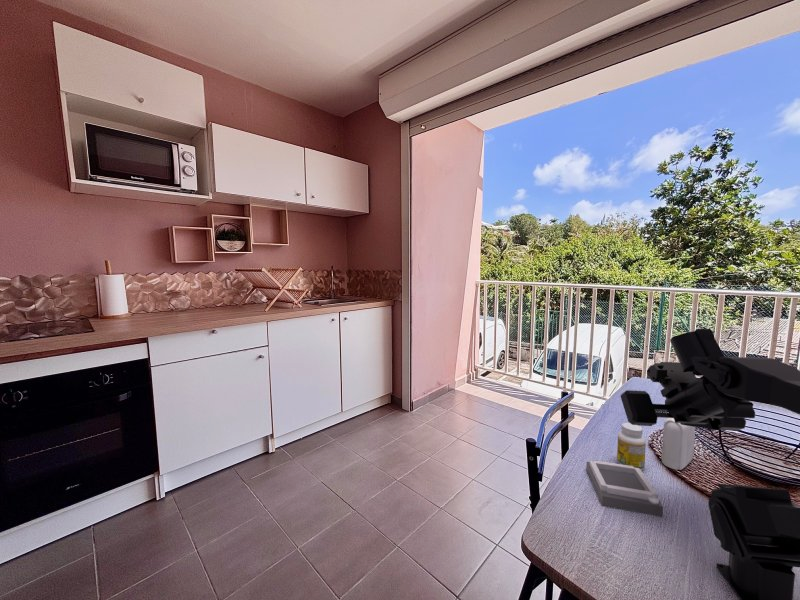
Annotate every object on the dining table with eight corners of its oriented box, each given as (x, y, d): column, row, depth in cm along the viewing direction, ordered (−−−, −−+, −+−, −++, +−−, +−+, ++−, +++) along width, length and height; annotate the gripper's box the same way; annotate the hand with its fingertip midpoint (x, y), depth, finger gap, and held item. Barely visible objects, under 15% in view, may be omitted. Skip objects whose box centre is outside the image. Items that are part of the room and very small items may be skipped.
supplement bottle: (648, 474, 72) (650, 433, 71) (620, 469, 74) (622, 430, 73) (639, 461, 77) (641, 423, 76) (613, 456, 79) (615, 420, 78)
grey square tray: (662, 516, 59) (663, 500, 59) (602, 505, 62) (602, 490, 62) (636, 477, 71) (637, 463, 71) (586, 469, 74) (586, 456, 74)
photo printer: (673, 450, 81) (676, 404, 80) (695, 458, 78) (698, 410, 77) (658, 464, 76) (661, 414, 75) (681, 473, 72) (684, 421, 71)
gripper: (742, 356, 57) (689, 385, 70) (630, 353, 60) (598, 382, 73) (778, 419, 51) (713, 439, 64) (651, 412, 54) (612, 433, 67)
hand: (656, 420), depth 67 cm, fingers open, 9 cm apart
